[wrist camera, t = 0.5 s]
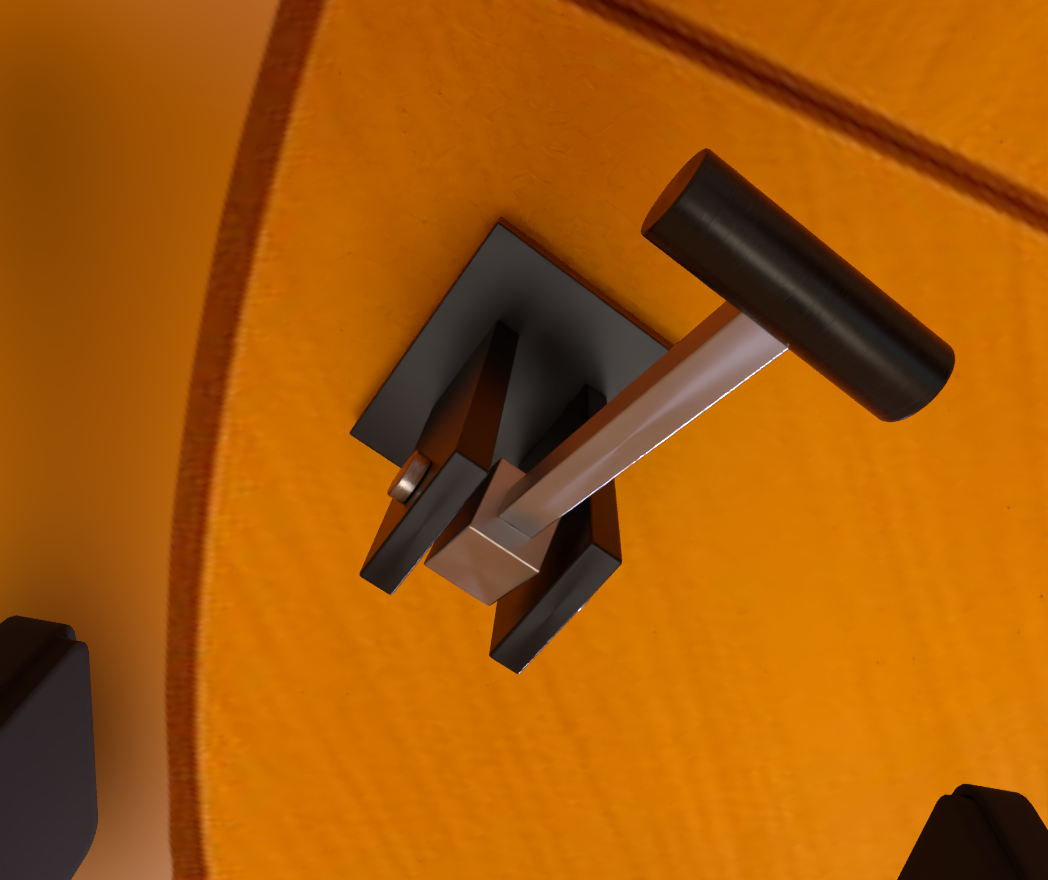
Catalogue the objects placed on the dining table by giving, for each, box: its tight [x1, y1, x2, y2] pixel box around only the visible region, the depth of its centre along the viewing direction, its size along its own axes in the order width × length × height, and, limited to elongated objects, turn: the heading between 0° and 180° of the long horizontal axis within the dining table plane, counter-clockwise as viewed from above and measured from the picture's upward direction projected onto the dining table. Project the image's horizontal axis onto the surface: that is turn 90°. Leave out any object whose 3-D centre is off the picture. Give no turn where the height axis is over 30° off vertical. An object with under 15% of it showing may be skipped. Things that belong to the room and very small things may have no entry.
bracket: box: [350, 217, 674, 674], centre depth 26 cm, size 10×9×13 cm
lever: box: [424, 148, 955, 606], centre depth 18 cm, size 13×6×2 cm, turn 143°
